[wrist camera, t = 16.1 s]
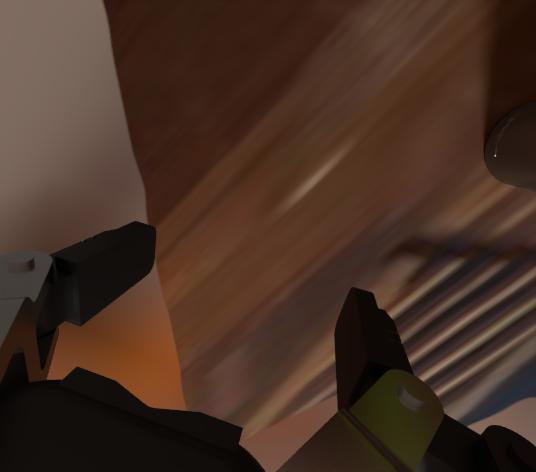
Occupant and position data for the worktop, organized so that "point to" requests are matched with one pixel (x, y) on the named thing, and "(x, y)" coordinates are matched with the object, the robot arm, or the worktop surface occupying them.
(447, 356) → the worktop surface
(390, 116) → the worktop surface
